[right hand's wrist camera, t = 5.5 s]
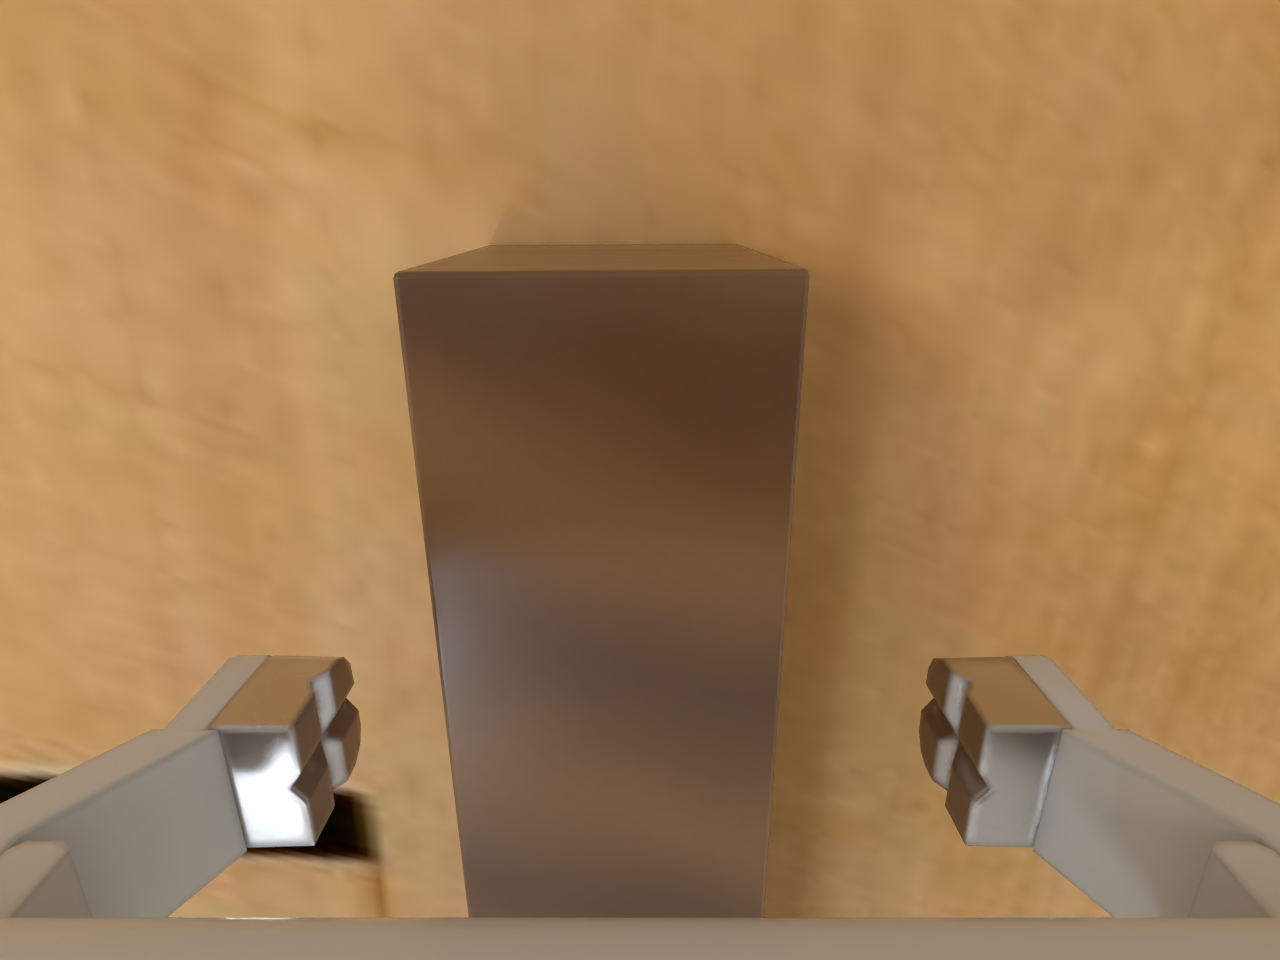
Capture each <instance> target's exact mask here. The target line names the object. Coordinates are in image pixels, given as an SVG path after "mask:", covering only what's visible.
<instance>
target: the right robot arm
mask: <svg viewBox="0 0 1280 960" xmlns="http://www.w3.org/2000/svg"><path fill="white" fill-rule="evenodd" d="M353 685H354V681H353V676H352V671H351V666H350V663H349V662H348V661H347V660H346V659H345V658H344V657H311V656H273V657H272V656H269V655H265V656H236V657H233V658H229V659H228V660H227V662H226V663H225V664H224V665H223V666H222V667H221V668H220V669H219V670H218V671H217V672H216V674H215V675H214V676H213V677H212V678H211V679H210V680H209V681H208V682H207V683H206V684H205V686H204V687H203V688H202V689H201V690H200V691H199V692H198V693H197V694H196V695H195V696H194V698H193V699H192V700H191V701H190V702H189V703H188V704H187V705H186V706H185V707H184V708H183V710H182V711H181V712H180V713H179V714H178V715H177V716H176V717H175V718H174V719H173V720H172V722H171V723H170V724H169V725H168V726H167V727H166V728H165V729H164V730H151V731H148V732H146V733H144V734H142V735H140V736H138V737H136V738H134V739H132V740H130V741H128V742H126V743H124V744H122V745H120V746H118V747H116V748H114V749H112V750H110V751H108V752H106V753H103V754H101V755H99V756H97V757H95V758H93V759H91V760H89V761H87V762H85V763H83V764H81V765H79V766H77V767H75V768H73V769H71V770H69V771H67V772H65V773H63V774H60V775H58V776H56V777H54V778H52V779H50V780H48V781H46V782H44V783H42V784H40V785H38V786H36V787H34V788H32V789H30V790H28V791H26V792H24V793H22V794H20V795H18V796H15V797H13V798H11V799H9V800H7V801H5V802H3V803H1V804H0V960H1280V804H1278V803H1276V802H1274V801H1272V800H1270V799H1268V798H1266V797H1264V796H1262V795H1260V794H1258V793H1256V792H1254V791H1252V790H1250V789H1248V788H1246V787H1244V786H1242V785H1240V784H1238V783H1236V782H1234V781H1232V780H1229V779H1227V778H1225V777H1223V776H1221V775H1219V774H1217V773H1215V772H1213V771H1211V770H1209V769H1207V768H1205V767H1203V766H1201V765H1199V764H1197V763H1195V762H1193V761H1191V760H1189V759H1187V758H1185V757H1183V756H1181V755H1178V754H1176V753H1174V752H1172V751H1170V750H1168V749H1166V748H1164V747H1162V746H1160V745H1158V744H1156V743H1154V742H1152V741H1150V740H1148V739H1146V738H1144V737H1142V736H1140V735H1138V734H1136V733H1134V732H1132V731H1129V730H1116V729H1115V728H1114V727H1113V726H1112V725H1111V724H1110V723H1109V722H1108V720H1107V719H1106V718H1105V717H1104V716H1103V715H1102V714H1101V713H1100V712H1099V711H1098V710H1097V708H1096V707H1095V706H1094V705H1093V704H1092V703H1091V702H1090V701H1089V700H1088V699H1087V698H1086V696H1085V695H1084V694H1083V693H1082V692H1081V691H1080V690H1079V689H1078V688H1077V687H1076V685H1075V684H1074V683H1073V682H1072V681H1071V680H1070V679H1069V678H1068V677H1067V676H1066V675H1065V673H1064V672H1063V671H1062V670H1061V669H1060V668H1059V667H1058V666H1057V665H1056V664H1055V663H1054V661H1053V660H1052V659H1050V658H1048V657H1045V656H1043V655H1029V656H1006V657H974V658H933V660H932V662H931V664H930V666H929V669H928V675H927V680H926V685H927V686H928V688H929V690H930V691H931V693H932V695H933V697H934V698H933V699H932V700H931V701H930V702H929V703H928V704H927V705H926V706H925V707H924V709H923V710H922V711H921V719H920V728H919V735H920V746H921V753H922V756H923V760H924V763H925V766H926V768H927V770H928V772H929V774H930V776H931V779H932V780H933V781H934V782H936V783H937V784H939V785H940V786H941V787H943V788H944V789H946V790H947V797H946V803H945V806H946V808H947V810H948V812H949V814H950V816H951V818H952V820H953V822H954V824H955V826H956V827H957V829H958V831H959V833H960V835H961V837H962V839H963V841H964V843H965V845H966V846H998V847H1034V848H1033V851H1034V852H1035V853H1036V854H1038V855H1039V856H1040V857H1041V858H1042V859H1044V860H1045V861H1046V862H1047V863H1048V864H1050V865H1051V866H1052V867H1053V868H1055V869H1056V870H1057V871H1058V872H1059V873H1061V874H1062V875H1063V876H1064V877H1065V878H1067V879H1068V880H1069V881H1070V882H1071V883H1073V884H1074V885H1075V886H1076V887H1077V888H1079V889H1080V890H1081V891H1082V892H1083V893H1085V894H1086V895H1087V896H1088V897H1089V898H1091V899H1092V900H1093V901H1094V902H1095V903H1097V904H1098V905H1099V906H1100V907H1101V908H1103V909H1104V910H1105V911H1106V912H1108V913H1109V914H1110V915H1111V916H1112V917H1114V918H167V917H168V916H169V915H170V914H172V913H173V912H174V911H175V910H176V909H178V908H179V907H180V906H181V905H182V904H184V903H185V902H186V901H187V900H188V899H190V898H191V897H192V896H193V895H194V894H196V893H197V892H198V891H199V890H200V889H202V888H203V887H204V886H205V885H207V884H208V883H209V882H210V881H211V880H213V879H214V878H215V877H216V876H217V875H219V874H220V873H221V872H222V871H223V870H225V869H226V868H227V867H228V866H229V865H231V864H232V863H233V862H234V861H235V860H237V859H238V858H239V857H240V856H242V855H243V854H244V853H245V852H246V851H247V848H246V847H280V846H314V845H315V843H316V841H317V839H318V837H319V835H320V833H321V831H322V829H323V828H324V826H325V824H326V822H327V820H328V818H329V816H330V814H331V812H332V810H333V808H334V806H335V803H334V797H333V790H334V789H336V788H337V787H339V786H340V785H341V784H343V783H344V782H346V781H347V780H348V779H349V776H350V774H351V772H352V770H353V768H354V766H355V764H356V760H357V755H358V751H359V746H360V731H361V725H360V718H359V711H358V710H357V708H356V707H355V706H354V705H353V704H352V703H351V702H350V701H349V700H348V699H347V698H346V697H347V695H348V693H349V691H350V690H351V688H352V686H353Z"/></svg>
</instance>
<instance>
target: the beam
mask: <svg viewBox="0 0 1280 960" xmlns="http://www.w3.org/2000/svg"><path fill="white" fill-rule="evenodd" d="M393 279H394V288H395V296H396V305H397V313H398V322H399V330H400V339H401V347H402V355H403V364H404V372H405V381H406V389H407V398H408V406H409V415H410V423H411V432H412V440H413V449H414V457H415V465H416V474H417V482H418V491H419V499H420V508H421V516H422V525H423V533H424V542H425V550H426V559H427V567H428V575H429V584H430V592H431V601H432V609H433V618H434V626H435V635H436V643H437V652H438V660H439V669H440V677H441V685H442V694H443V702H444V711H445V719H446V728H447V736H448V745H449V753H450V762H451V770H452V779H453V787H454V795H455V804H456V812H457V821H458V829H459V838H460V846H461V855H462V863H463V872H464V880H465V888H466V897H467V905H468V914H469V918H763V912H764V898H765V885H766V871H767V857H768V843H769V829H770V815H771V801H772V787H773V774H774V760H775V746H776V732H777V718H778V704H779V690H780V676H781V663H782V649H783V635H784V621H785V607H786V593H787V579H788V565H789V551H790V538H791V524H792V510H793V496H794V482H795V468H796V454H797V440H798V427H799V413H800V399H801V385H802V371H803V357H804V343H805V329H806V316H807V302H808V288H809V273H808V271H807V270H805V269H802V268H800V267H797V266H794V265H792V264H789V263H786V262H784V261H781V260H778V259H775V258H773V257H770V256H767V255H765V254H762V253H759V252H756V251H754V250H751V249H748V248H746V247H743V246H740V245H738V244H677V245H522V246H486V247H482V248H479V249H475V250H472V251H468V252H465V253H462V254H458V255H455V256H451V257H448V258H444V259H441V260H437V261H434V262H430V263H427V264H423V265H420V266H417V267H413V268H410V269H406V270H403V271H399V272H397V273H395V275H394V278H393Z"/></svg>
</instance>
